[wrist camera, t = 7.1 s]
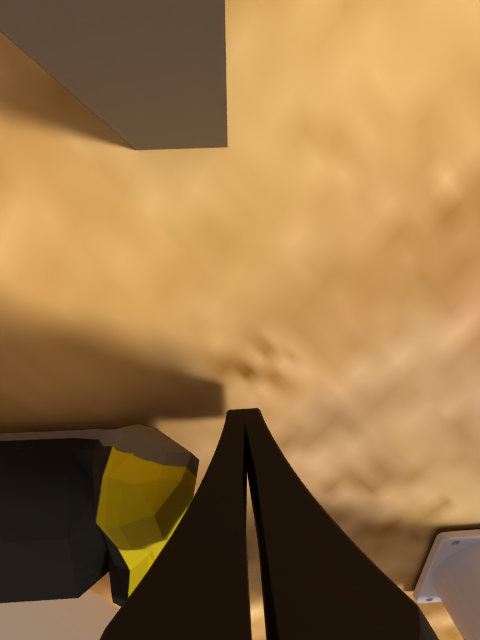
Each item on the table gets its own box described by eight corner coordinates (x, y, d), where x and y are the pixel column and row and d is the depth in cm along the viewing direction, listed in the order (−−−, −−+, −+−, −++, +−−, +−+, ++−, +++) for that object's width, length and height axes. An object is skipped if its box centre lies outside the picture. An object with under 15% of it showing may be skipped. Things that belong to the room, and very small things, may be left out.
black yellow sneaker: (-146, 377, 10) (-47, 523, 14) (-523, 523, 5) (-211, 698, 9) (201, 366, 11) (212, 510, 14) (175, 488, 6) (202, 665, 9)
